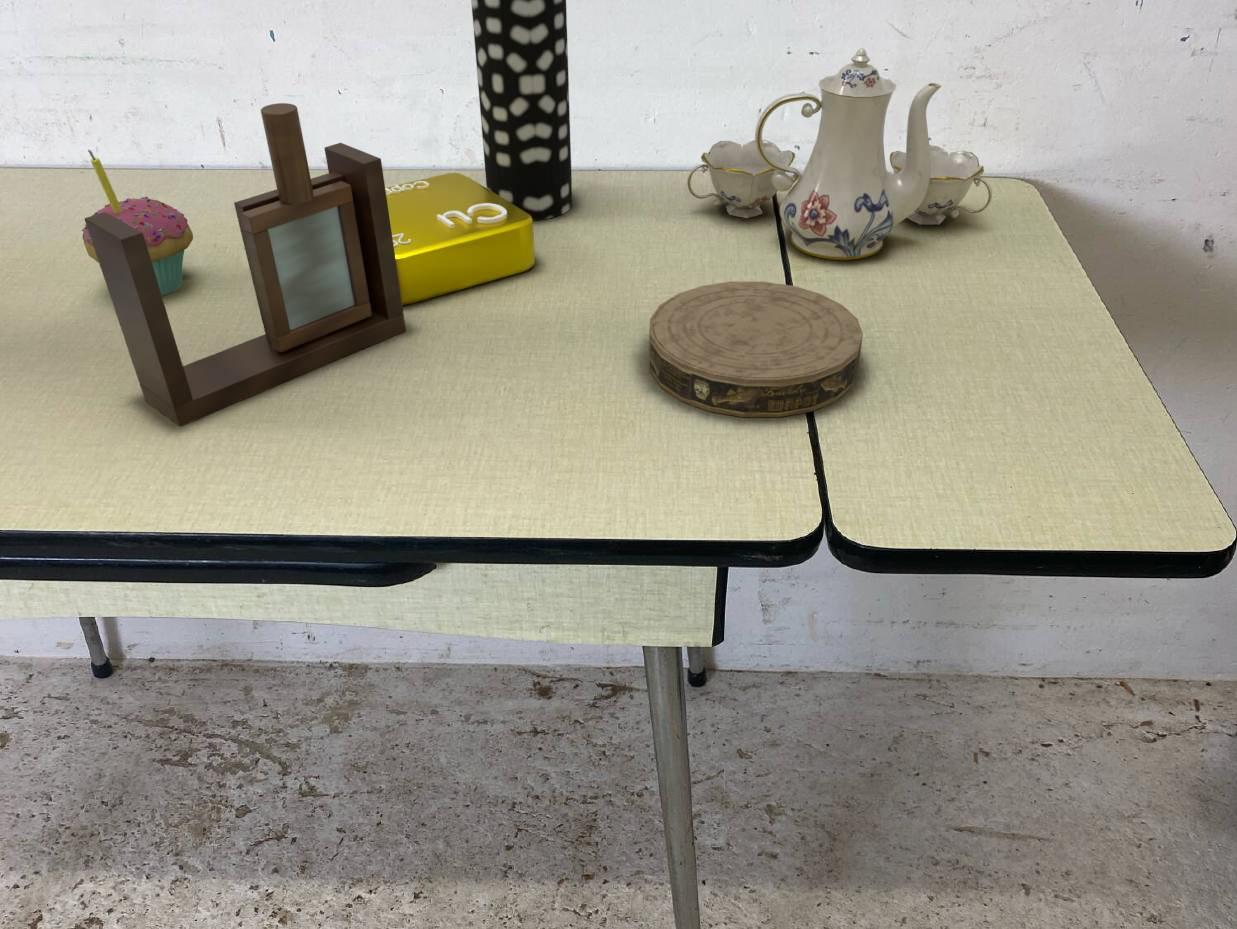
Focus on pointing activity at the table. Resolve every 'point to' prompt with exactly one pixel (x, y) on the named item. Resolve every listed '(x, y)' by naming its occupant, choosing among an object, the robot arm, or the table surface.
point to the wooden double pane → (256, 360)
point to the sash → (304, 244)
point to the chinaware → (846, 169)
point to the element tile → (455, 236)
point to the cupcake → (149, 231)
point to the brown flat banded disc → (754, 348)
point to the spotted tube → (525, 102)
